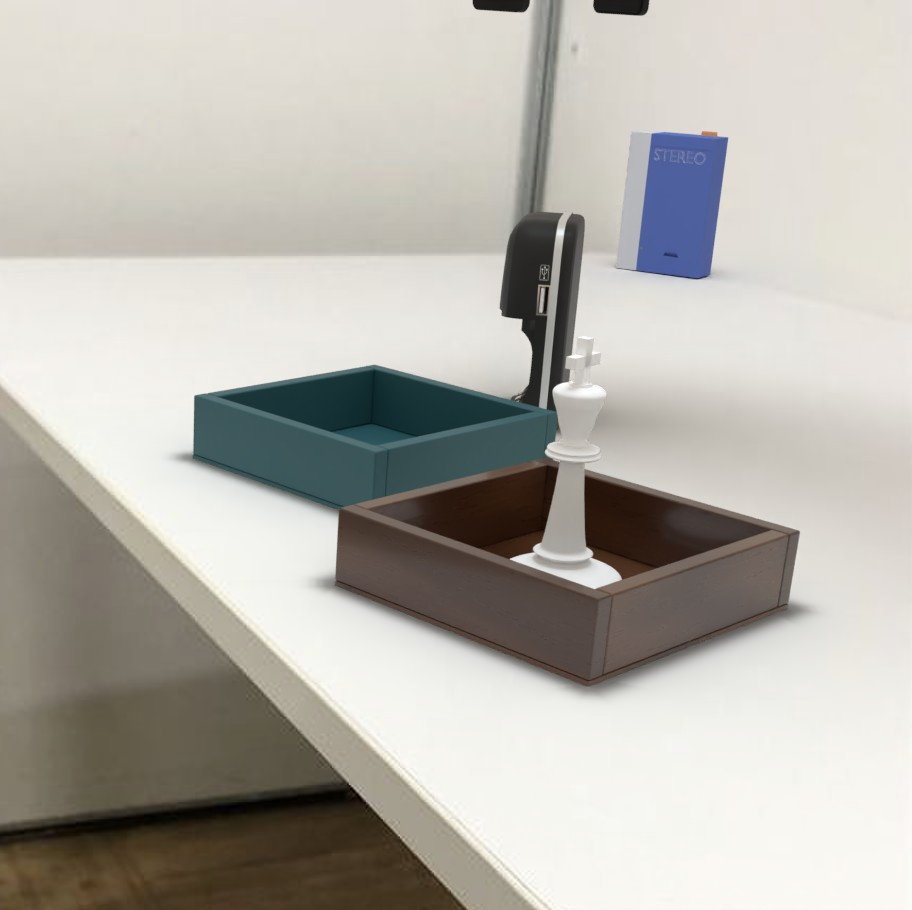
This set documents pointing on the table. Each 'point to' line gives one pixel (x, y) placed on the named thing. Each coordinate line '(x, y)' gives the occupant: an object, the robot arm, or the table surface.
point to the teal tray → (364, 433)
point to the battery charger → (544, 296)
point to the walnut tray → (557, 599)
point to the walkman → (671, 202)
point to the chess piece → (573, 478)
